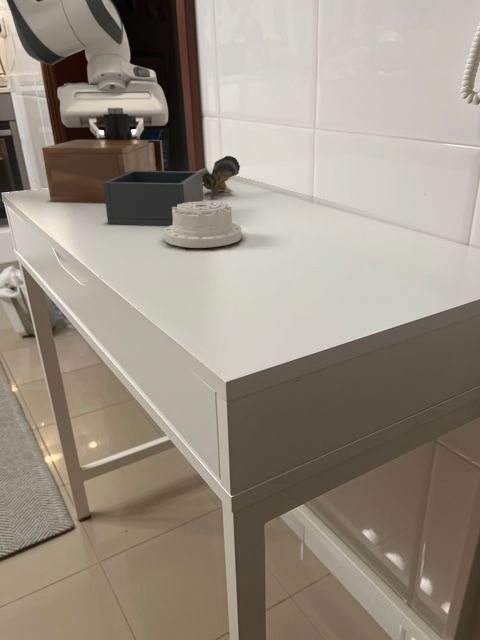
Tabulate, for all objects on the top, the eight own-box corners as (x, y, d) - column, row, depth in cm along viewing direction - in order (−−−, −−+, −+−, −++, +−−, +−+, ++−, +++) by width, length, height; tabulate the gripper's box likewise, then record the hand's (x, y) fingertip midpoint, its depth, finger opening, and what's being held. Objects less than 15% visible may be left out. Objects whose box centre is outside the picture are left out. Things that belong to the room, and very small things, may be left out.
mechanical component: (199, 255, 66) (257, 239, 73) (197, 218, 64) (257, 204, 71) (149, 240, 72) (206, 227, 79) (145, 206, 70) (204, 195, 77)
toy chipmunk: (244, 193, 96) (249, 175, 103) (219, 157, 93) (227, 141, 100) (209, 215, 99) (217, 196, 106) (184, 182, 96) (194, 164, 103)
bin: (107, 224, 81) (102, 182, 78) (134, 207, 91) (130, 170, 89) (185, 226, 79) (183, 184, 77) (203, 209, 90) (202, 171, 87)
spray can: (107, 176, 108) (99, 108, 102) (115, 172, 112) (108, 107, 106) (129, 176, 107) (122, 108, 102) (137, 173, 111) (130, 107, 106)
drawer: (113, 171, 121) (109, 137, 118) (170, 172, 119) (167, 138, 116) (81, 184, 106) (75, 146, 103) (145, 186, 104) (141, 146, 101)
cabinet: (83, 187, 108) (77, 139, 104) (152, 188, 107) (148, 140, 103) (50, 201, 96) (41, 147, 92) (127, 203, 94) (121, 148, 91)
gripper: (53, 70, 105) (58, 130, 101) (163, 70, 110) (172, 127, 105) (59, 96, 111) (64, 153, 107) (162, 95, 115) (171, 150, 111)
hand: (118, 140), depth 106 cm, fingers open, 5 cm apart
